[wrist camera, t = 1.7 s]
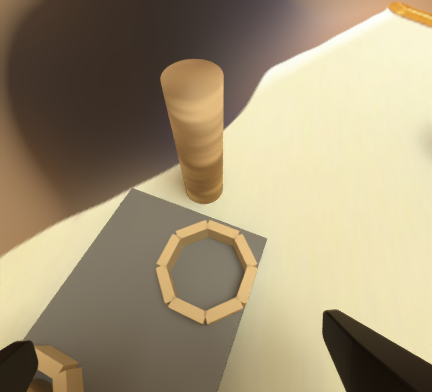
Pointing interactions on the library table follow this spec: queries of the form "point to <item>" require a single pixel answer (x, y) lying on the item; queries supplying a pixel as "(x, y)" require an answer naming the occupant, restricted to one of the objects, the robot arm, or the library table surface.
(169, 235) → the board
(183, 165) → the pin
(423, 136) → the library table surface
